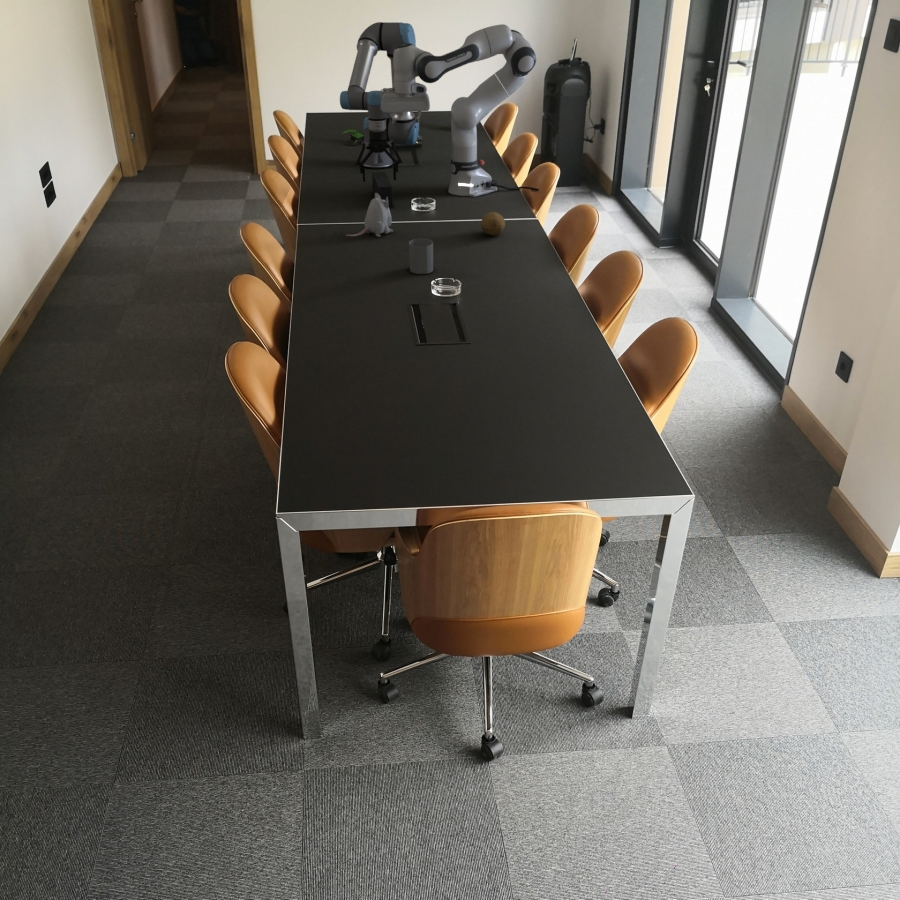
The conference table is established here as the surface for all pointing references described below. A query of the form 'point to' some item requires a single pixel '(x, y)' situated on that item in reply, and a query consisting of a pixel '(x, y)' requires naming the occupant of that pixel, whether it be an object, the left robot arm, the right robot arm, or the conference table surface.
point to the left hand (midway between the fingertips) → (379, 180)
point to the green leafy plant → (354, 137)
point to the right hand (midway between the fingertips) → (405, 122)
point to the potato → (492, 223)
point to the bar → (382, 186)
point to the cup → (421, 256)
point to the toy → (377, 217)
